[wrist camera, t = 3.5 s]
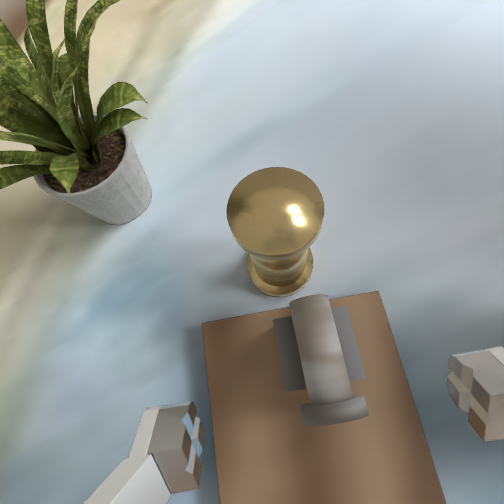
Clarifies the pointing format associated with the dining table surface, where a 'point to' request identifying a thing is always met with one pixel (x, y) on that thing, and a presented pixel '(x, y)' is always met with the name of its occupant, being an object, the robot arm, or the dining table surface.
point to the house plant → (69, 121)
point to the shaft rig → (315, 407)
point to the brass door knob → (276, 227)
